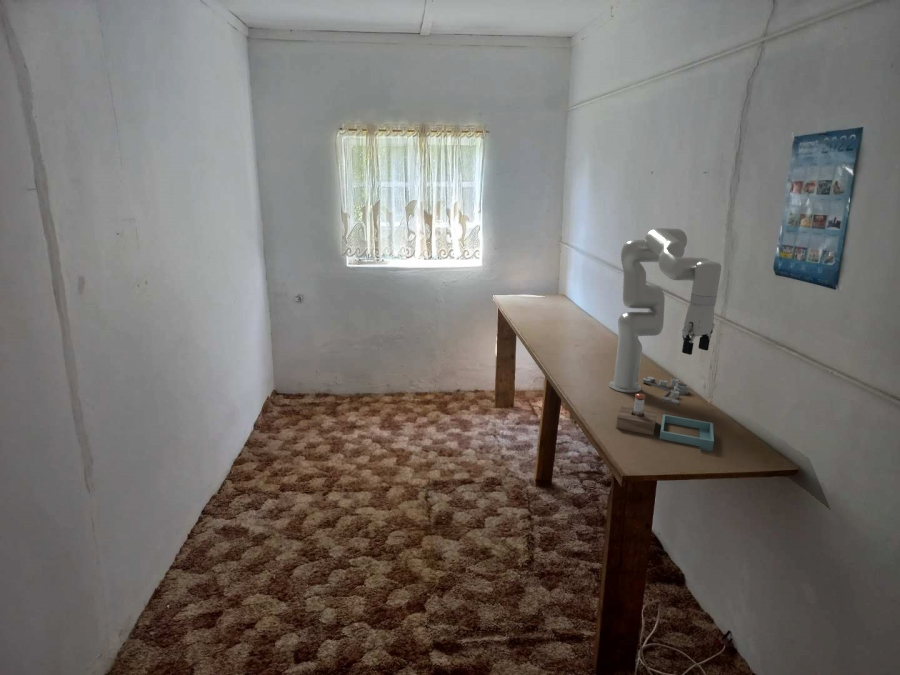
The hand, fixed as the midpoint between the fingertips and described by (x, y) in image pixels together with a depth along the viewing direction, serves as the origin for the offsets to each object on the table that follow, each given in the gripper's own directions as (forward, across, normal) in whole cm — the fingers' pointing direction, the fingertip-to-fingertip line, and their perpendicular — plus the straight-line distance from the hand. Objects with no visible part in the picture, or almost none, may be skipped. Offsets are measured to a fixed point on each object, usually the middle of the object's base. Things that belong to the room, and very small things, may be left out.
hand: (695, 351), depth 191 cm
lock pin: (+28, +11, -11) cm, 32 cm away
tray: (+29, +3, +3) cm, 29 cm away
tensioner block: (+29, +11, -11) cm, 32 cm away
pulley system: (+29, -32, -25) cm, 50 cm away
